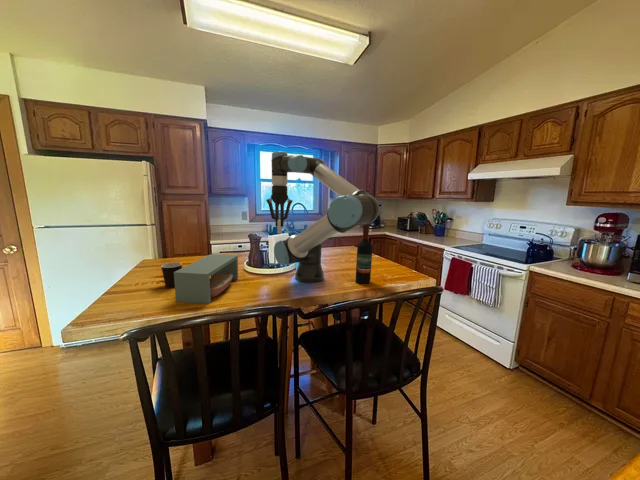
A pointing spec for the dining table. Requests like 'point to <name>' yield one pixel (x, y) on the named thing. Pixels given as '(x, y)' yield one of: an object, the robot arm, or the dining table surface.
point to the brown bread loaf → (219, 283)
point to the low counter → (202, 277)
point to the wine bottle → (364, 258)
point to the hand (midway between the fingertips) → (279, 233)
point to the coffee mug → (170, 273)
